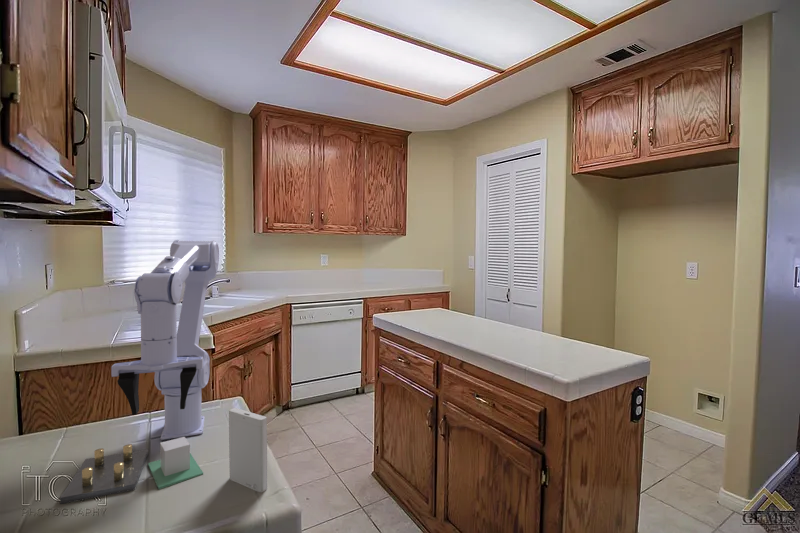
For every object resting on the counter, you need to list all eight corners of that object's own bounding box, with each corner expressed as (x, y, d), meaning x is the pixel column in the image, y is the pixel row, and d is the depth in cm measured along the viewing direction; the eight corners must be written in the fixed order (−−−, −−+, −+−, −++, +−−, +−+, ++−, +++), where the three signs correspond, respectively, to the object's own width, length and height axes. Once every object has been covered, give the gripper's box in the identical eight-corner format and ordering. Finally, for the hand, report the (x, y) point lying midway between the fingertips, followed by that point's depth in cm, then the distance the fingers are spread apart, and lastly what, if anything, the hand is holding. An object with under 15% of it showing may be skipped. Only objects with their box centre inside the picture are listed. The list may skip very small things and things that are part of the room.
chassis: (85, 464, 76) (85, 445, 76) (148, 454, 80) (147, 436, 80) (60, 503, 64) (59, 482, 64) (134, 489, 68) (134, 469, 68)
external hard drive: (260, 494, 67) (260, 420, 67) (228, 480, 71) (227, 410, 71) (268, 489, 69) (268, 416, 68) (236, 475, 73) (235, 407, 72)
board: (148, 467, 76) (147, 439, 76) (189, 455, 80) (189, 429, 80) (158, 491, 68) (158, 460, 68) (203, 477, 73) (203, 448, 73)
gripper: (105, 345, 69) (106, 424, 69) (200, 339, 74) (201, 412, 75) (117, 337, 75) (117, 409, 76) (203, 332, 81) (203, 399, 81)
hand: (159, 410), depth 76 cm, fingers open, 7 cm apart
